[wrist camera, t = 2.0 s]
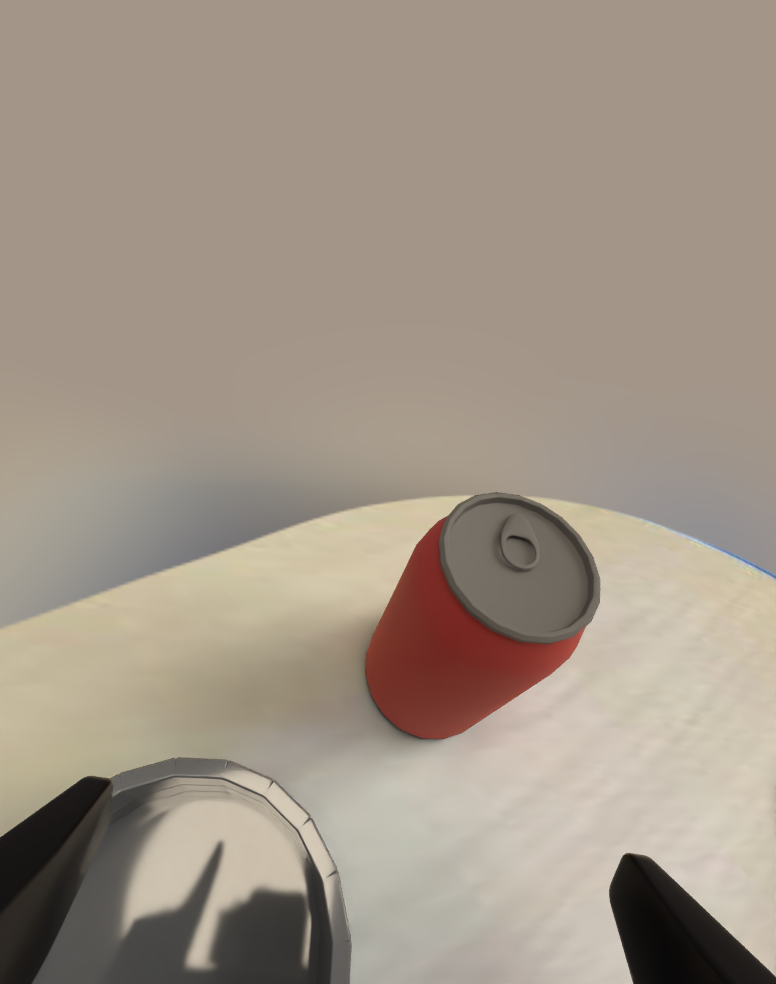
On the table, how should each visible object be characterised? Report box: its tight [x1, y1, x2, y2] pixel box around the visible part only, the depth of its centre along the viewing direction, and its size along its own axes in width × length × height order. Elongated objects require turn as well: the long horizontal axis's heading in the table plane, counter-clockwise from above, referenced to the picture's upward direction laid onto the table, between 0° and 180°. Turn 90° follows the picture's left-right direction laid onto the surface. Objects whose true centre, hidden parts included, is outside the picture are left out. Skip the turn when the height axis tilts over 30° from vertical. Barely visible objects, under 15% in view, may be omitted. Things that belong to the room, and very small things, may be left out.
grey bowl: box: [32, 757, 351, 984], centre depth 15 cm, size 11×11×4 cm
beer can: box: [366, 492, 600, 739], centre depth 20 cm, size 7×7×12 cm
